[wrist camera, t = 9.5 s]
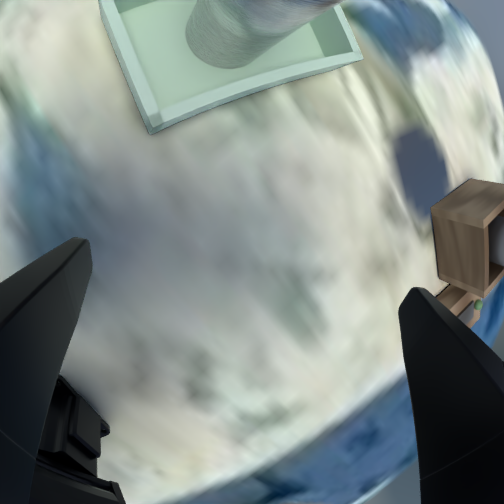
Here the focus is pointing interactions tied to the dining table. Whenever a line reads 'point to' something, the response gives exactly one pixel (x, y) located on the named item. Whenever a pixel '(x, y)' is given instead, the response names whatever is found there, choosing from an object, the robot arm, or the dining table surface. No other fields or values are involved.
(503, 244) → the bin
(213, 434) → the dining table surface
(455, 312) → the wooden switch box
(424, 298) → the robot arm
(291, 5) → the cell
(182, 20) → the trough
